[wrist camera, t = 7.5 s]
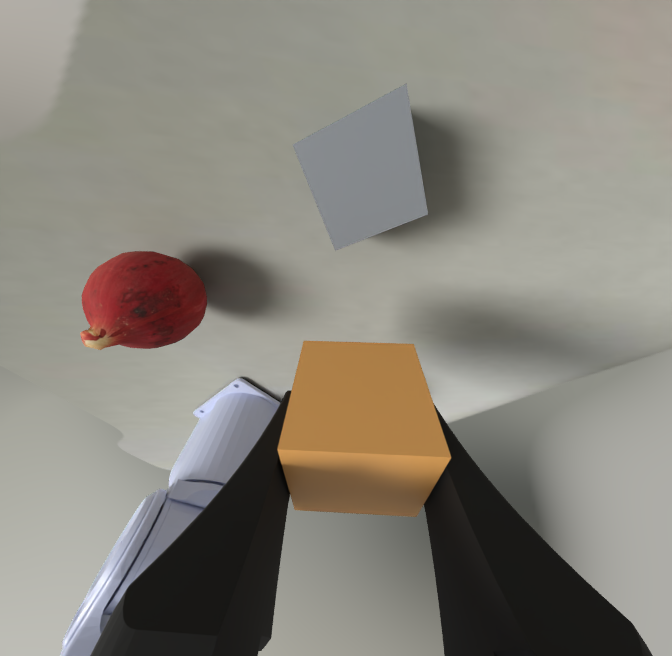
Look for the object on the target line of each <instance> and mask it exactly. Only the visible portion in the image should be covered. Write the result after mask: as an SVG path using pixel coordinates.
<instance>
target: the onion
mask: <svg viewBox="0 0 672 656" xmlns="http://www.w3.org/2000/svg"><path fill="white" fill-rule="evenodd" d="M82 305H83V310H84V313H85V316H86V318H87V321H88V322H89V324H90V325H91V327H90V328H89V330H85V331H83V332H81V333H80V334H81V338H82V341H83V343H84V345H85V347H91V348H95V349H98V350H101V349H103V348H106V347H110V346H115V345H122V346H126V347H130V348H144V349H151V348H158V347H162V346H166V345H169V344H172V343H176V342H178V341H180V340H182V339H183V338H185V337H186V336H187V335H188V334H189V333H191V332H192V331H193V330H194V329H195V328H196V327H197V326H198V325H199V324H200V323H201V321H202V319H203V317H204V314H205V310H206V306H207V296H206V291H205V287H204V283H203V282H202V281H201V279H200V278H199V276H198V275H197V274H196V272H195V271H194V270H193V269H192V268H190V267H189V266H188V265H186V264H185V263H183V262H182V261H180V260H179V259H176V258H173V257H170V256H167V255H163V254H160V253H156V252H147V251H134V252H127V253H122V254H120V255H118V256H116V257H114V258H112V259H110V260H109V261H107V262H105V263H104V264H102V265H100V266H99V267H97V268H96V269H95V270H94V272H93V273H92V274H91V275H90V277H89V279H88V281H87V283H86V285H85V287H84V290H83V293H82Z"/></svg>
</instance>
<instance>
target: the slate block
mask: <svg viewBox="0 0 672 656" xmlns="http://www.w3.org/2000/svg"><path fill="white" fill-rule="evenodd" d="M293 147H294V150H295V152H296V155H297V157H298V160H299V162H300V164H301V167H302V169H303V172H304V174H305V177H306V179H307V182H308V184H309V187H310V189H311V192H312V194H313V197H314V199H315V202H316V204H317V207H318V209H319V211H320V214H321V216H322V219H323V221H324V224H325V226H326V229H327V231H328V234H329V236H330V239H331V241H332V244H333V246H334V249H335V250H338V249H341V248H343V247H346V246H348V245H351V244H353V243H356V242H359V241H361V240H364V239H366V238H369V237H371V236H374V235H377V234H379V233H382V232H384V231H387V230H389V229H392V228H395V227H397V226H400V225H402V224H405V223H407V222H410V221H412V220H415V219H418V218H420V217H423V216H425V215H428V211H427V204H426V198H425V192H424V186H423V180H422V174H421V168H420V162H419V156H418V150H417V144H416V138H415V132H414V126H413V120H412V114H411V108H410V102H409V96H408V90H407V84H404V85H403V86H401V87H399V88H397V89H395V90H393V91H391V92H390V93H388V94H386V95H384V96H382V97H380V98H378V99H377V100H375V101H373V102H371V103H369V104H367V105H365V106H364V107H362V108H360V109H358V110H356V111H354V112H352V113H351V114H349V115H347V116H345V117H343V118H341V119H339V120H338V121H336V122H334V123H332V124H330V125H328V126H326V127H325V128H323V129H321V130H319V131H317V132H315V133H314V134H312V135H310V136H308V137H306V138H304V139H302V140H301V141H299V142H297V143H295V144H293Z"/></svg>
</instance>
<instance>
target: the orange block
mask: <svg viewBox="0 0 672 656" xmlns="http://www.w3.org/2000/svg"><path fill="white" fill-rule="evenodd" d="M277 450H278V453H279V457H280V460H281V464H282V467H283V471H284V474H285V478H286V481H287V485H288V488H289V492H290V495H291V498H292V502H293V505H294V509H295V510H303V511H320V512H338V513H356V514H373V515H374V514H375V515H392V516H411V517H416V516H417V515H418V513H419V512H420V510H421V508H422V507H423V505H424V503H425V501H426V500H427V498H428V496H429V495H430V493H431V491H432V490H433V488H434V486H435V484H436V483H437V481H438V479H439V478H440V476H441V474H442V473H443V471H444V469H445V467H446V466H447V464H448V462H449V461H450V459H451V455H450V452H449V449H448V446H447V443H446V440H445V437H444V434H443V431H442V428H441V425H440V422H439V419H438V416H437V413H436V410H435V407H434V404H433V401H432V398H431V395H430V392H429V389H428V386H427V383H426V380H425V377H424V374H423V371H422V368H421V365H420V362H419V359H418V356H417V353H416V350H415V347H414V344H395V343H361V342H327V341H304V342H303V346H302V350H301V354H300V359H299V363H298V367H297V371H296V375H295V379H294V383H293V387H292V391H291V395H290V400H289V404H288V408H287V412H286V416H285V420H284V424H283V428H282V432H281V436H280V441H279V445H278V449H277Z"/></svg>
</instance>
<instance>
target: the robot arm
mask: <svg viewBox="0 0 672 656" xmlns="http://www.w3.org/2000/svg"><path fill="white" fill-rule="evenodd" d="M290 395H291V391H287V392H286V393H285V395H284V397H283V399H282V401H281V403H280V402H279V401H277V400H275V399H274V398H272V397H271V396H269V395H268V394H266V393H264V392H263V391H261V390H260V389H258V388H257V387H255V386H253V385H252V384H250V383H249V382H247V381H246V380H244V379H242V378H237V379H236V380H234V381H233V382H232V383H230V384H229V385H228V386H226V387H225V388H224V389H222V390H221V391H220V392H218V393H217V394H216V395H215V396H213V397H212V398H211V399H209V400H208V401H207V402H205V403H204V404H203V405H201V406H200V407H199V408H197V409H196V410H195V411H194V413H193V414H194V415H195V416H196V417H198V418H200V420H199V421H198V423H197V425H196V427H195V428H194V430H193V432H192V434H191V436H190V437H189V439H188V441H187V443H186V444H185V446H184V448H183V450H182V452H181V453H180V455H179V457H178V459H177V460H176V462H175V464H174V466H173V468H172V470H171V473H170V478H169V488H168V489H167V490H164V489H158V490H156V492H154V493H151V494H150V495H148V496H146V497H145V499H144V500H143V501H142V503H141V504H140V506H139V507H138V509H137V510H136V512H135V513H134V515H133V516H132V518H131V519H130V521H129V523H128V524H127V526H126V527H125V529H124V530H123V532H122V534H121V535H120V537H119V539H118V540H117V542H116V544H115V545H114V547H113V549H112V550H111V552H110V554H109V555H108V557H107V559H106V561H105V562H104V564H103V566H102V567H101V569H100V571H99V573H98V574H97V576H96V578H95V580H94V582H93V584H92V585H91V587H90V589H89V591H88V593H87V595H86V597H85V599H84V601H83V602H82V604H81V606H80V607H79V609H78V611H77V613H76V615H75V616H74V618H73V620H72V622H71V624H70V626H69V628H68V630H67V632H66V634H65V636H64V639H63V642H62V644H63V649H62V651H61V653H60V656H257V655H258V651H261V650H262V649H263V648H264V647H265V646H266V644H267V643H268V641H269V640H270V639H271V634H272V625H273V615H274V607H275V598H276V589H277V581H278V574H279V566H280V558H281V551H282V544H283V536H284V529H285V522H286V515H287V508H288V502H289V497H290V492H289V488H288V485H287V481H286V478H285V474H284V471H283V467H282V464H281V460H280V457H279V453H278V450H277V449H278V445H279V441H280V436H281V432H282V428H283V424H284V420H285V416H286V412H287V408H288V404H289V400H290ZM433 404H434V403H433ZM434 407H435V410H436V413H437V416H438V419H439V422H440V425H441V428H442V431H443V434H444V437H445V440H446V443H447V446H448V449H449V452H450V455H451V459H450V461H449V462H448V464H447V466H446V467H445V469H444V471H443V473H442V474H441V476H440V478H439V479H438V481H437V483H436V484H435V486H434V488H433V490H432V491H431V493H430V495H429V496H428V498H427V500H426V501H425V503H424V507H425V512H426V517H427V524H428V530H429V536H430V543H431V549H432V556H433V563H434V569H435V577H436V585H437V593H438V600H439V608H440V617H441V626H442V634H443V644H444V654H445V656H652V654H651V652H650V650H649V649H648V647H647V645H646V644H645V642H644V641H643V639H642V638H641V636H640V635H639V633H638V632H637V630H636V629H635V627H634V625H633V624H632V623H631V622H630V621H629V620H628V619H627V618H626V617H625V616H623V615H622V614H621V613H620V612H619V611H618V610H617V609H616V608H615V607H614V606H613V605H611V604H610V603H609V602H608V601H607V600H606V599H605V598H604V597H603V596H601V595H600V594H599V593H598V592H597V591H596V590H595V589H594V588H593V587H592V586H591V585H590V584H588V583H587V582H586V581H585V580H584V579H583V578H582V577H581V576H580V575H579V574H578V573H577V572H576V571H575V570H574V569H573V568H572V567H571V566H570V565H569V564H568V563H567V562H565V560H563V559H562V558H561V557H560V556H559V555H558V554H557V553H556V552H555V551H554V550H553V549H552V548H551V547H550V546H549V545H548V544H547V543H546V542H545V541H544V540H543V539H542V538H541V536H539V535H538V533H537V532H536V531H535V530H534V529H533V528H532V527H531V526H530V525H529V524H528V523H527V522H526V521H525V520H524V519H523V518H522V517H521V516H520V515H519V514H518V513H517V511H516V510H515V509H514V508H513V507H512V506H511V505H510V504H509V503H508V502H507V501H506V499H505V498H504V497H503V496H502V495H501V494H500V493H499V491H498V490H497V489H496V488H495V487H494V486H493V484H492V483H491V482H490V481H489V480H488V478H487V477H486V476H485V475H484V473H483V472H482V471H481V470H480V468H479V467H478V466H477V465H476V463H475V462H474V461H473V460H472V458H471V457H470V456H469V454H468V453H467V452H466V450H465V449H464V448H463V446H462V445H461V443H460V442H459V441H458V439H457V438H456V436H455V435H454V434H453V432H452V431H451V429H450V428H449V426H448V425H447V423H446V422H445V420H444V419H443V417H442V416H441V414H440V413H439V411H438V410H437V408H436V406H435V405H434Z"/></svg>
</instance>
